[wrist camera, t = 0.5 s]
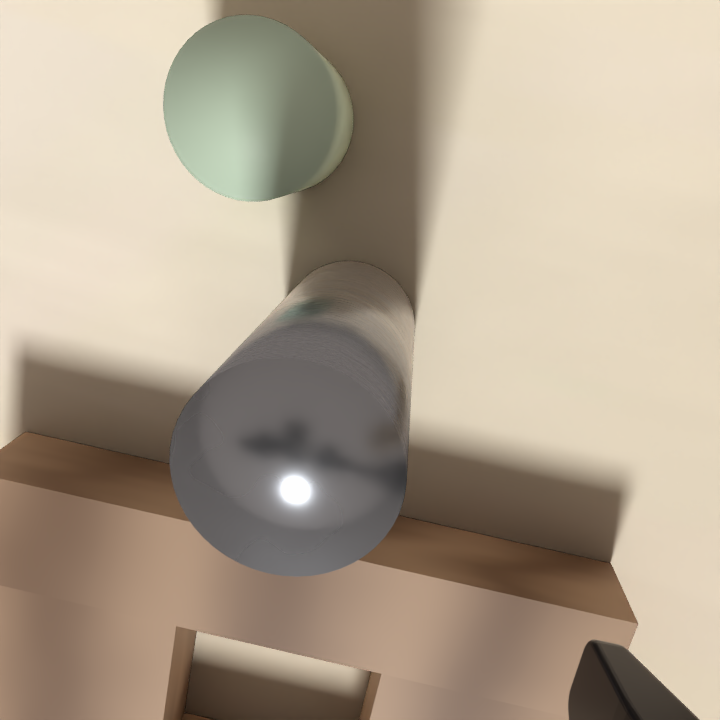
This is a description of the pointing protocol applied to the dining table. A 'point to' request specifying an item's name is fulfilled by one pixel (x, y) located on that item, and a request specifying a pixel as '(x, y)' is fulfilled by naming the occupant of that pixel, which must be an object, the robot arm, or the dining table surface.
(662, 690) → the robot arm
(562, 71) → the dining table surface
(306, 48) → the short pin
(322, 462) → the long pin
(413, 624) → the board
